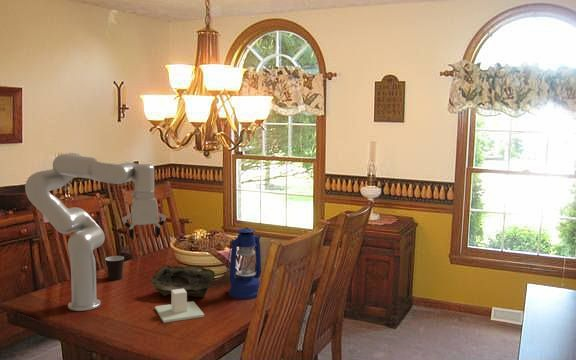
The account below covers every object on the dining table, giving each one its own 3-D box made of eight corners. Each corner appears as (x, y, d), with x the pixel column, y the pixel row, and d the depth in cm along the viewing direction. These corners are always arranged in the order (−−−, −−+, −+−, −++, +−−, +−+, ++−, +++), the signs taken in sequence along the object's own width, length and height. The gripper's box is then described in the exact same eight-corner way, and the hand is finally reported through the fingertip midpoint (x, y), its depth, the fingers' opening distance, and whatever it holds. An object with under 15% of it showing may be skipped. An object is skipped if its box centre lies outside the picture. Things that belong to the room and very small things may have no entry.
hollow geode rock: (215, 308, 232) (223, 277, 240) (208, 295, 222) (217, 264, 230) (155, 300, 237) (166, 270, 246) (146, 288, 227) (157, 257, 236)
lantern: (239, 302, 227) (240, 233, 223) (219, 292, 238) (220, 227, 234) (271, 293, 238) (272, 228, 234) (250, 285, 249) (251, 222, 246)
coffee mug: (121, 281, 250) (120, 261, 249) (102, 281, 250) (102, 260, 249) (128, 274, 262) (128, 254, 260) (111, 273, 262) (111, 254, 260)
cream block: (171, 309, 214) (171, 289, 213) (183, 307, 216) (183, 288, 215) (174, 313, 210) (174, 293, 209) (186, 311, 212) (186, 292, 211)
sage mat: (155, 308, 217) (155, 306, 217) (193, 303, 224) (193, 301, 223) (163, 322, 202) (163, 320, 202) (204, 316, 209) (204, 314, 209)
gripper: (123, 197, 202) (123, 241, 204) (168, 196, 210) (168, 238, 212) (120, 194, 209) (120, 237, 211) (164, 193, 216) (164, 234, 218)
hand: (144, 237), depth 211 cm, fingers open, 9 cm apart
